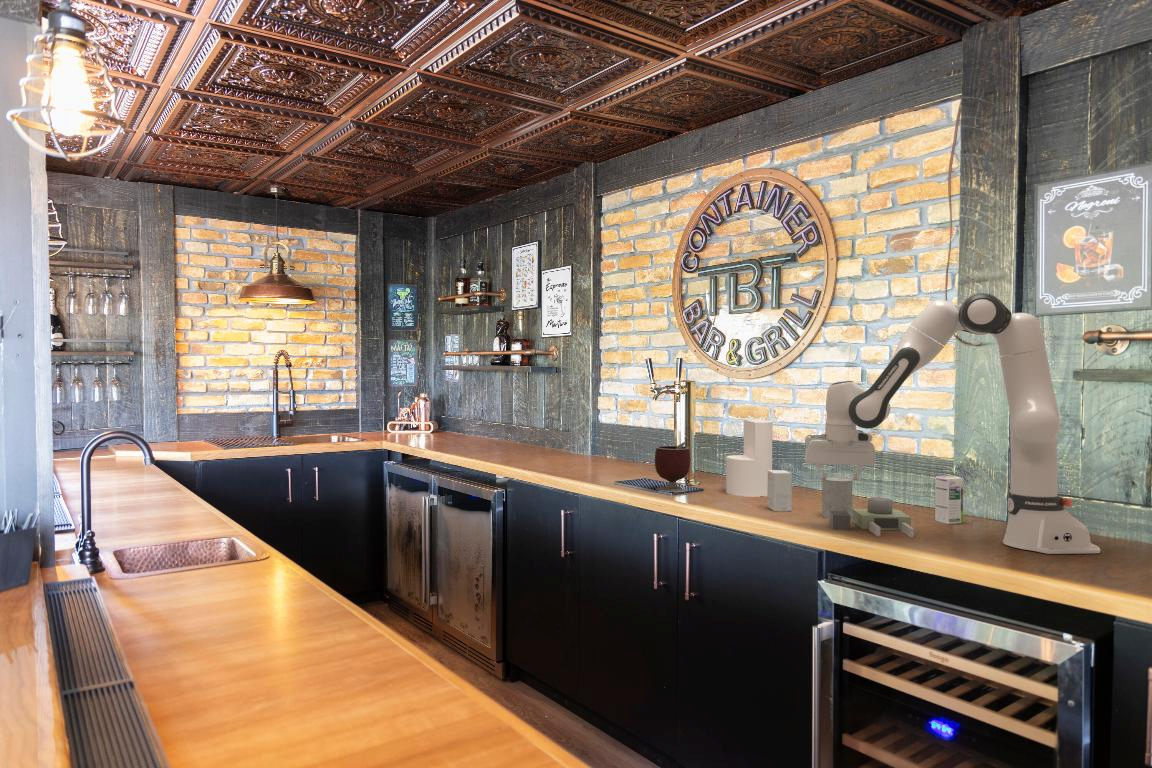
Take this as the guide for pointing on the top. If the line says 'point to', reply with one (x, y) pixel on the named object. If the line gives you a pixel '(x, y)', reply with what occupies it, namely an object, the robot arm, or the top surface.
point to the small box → (779, 490)
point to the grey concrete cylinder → (837, 495)
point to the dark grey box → (839, 520)
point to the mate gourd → (672, 465)
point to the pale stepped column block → (751, 461)
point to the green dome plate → (882, 517)
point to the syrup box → (949, 499)
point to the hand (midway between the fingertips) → (839, 479)
